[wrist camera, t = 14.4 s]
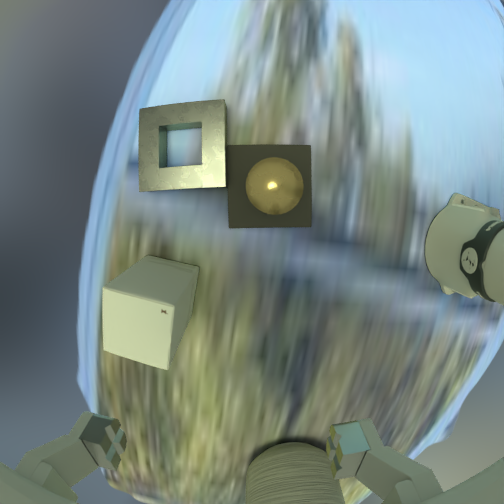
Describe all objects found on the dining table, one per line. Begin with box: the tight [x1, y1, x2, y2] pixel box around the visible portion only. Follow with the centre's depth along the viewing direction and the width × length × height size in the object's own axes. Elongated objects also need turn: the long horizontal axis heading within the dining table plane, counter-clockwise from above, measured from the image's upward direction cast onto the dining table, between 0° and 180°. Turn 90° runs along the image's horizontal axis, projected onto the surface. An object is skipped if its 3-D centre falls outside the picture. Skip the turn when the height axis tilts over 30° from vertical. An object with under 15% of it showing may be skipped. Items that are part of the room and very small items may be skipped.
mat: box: [227, 145, 312, 228], centre depth 40 cm, size 12×12×1 cm
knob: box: [246, 157, 304, 215], centre depth 34 cm, size 6×6×11 cm
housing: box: [139, 99, 228, 192], centre depth 37 cm, size 12×12×4 cm
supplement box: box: [103, 255, 199, 370], centre depth 36 cm, size 9×9×15 cm
